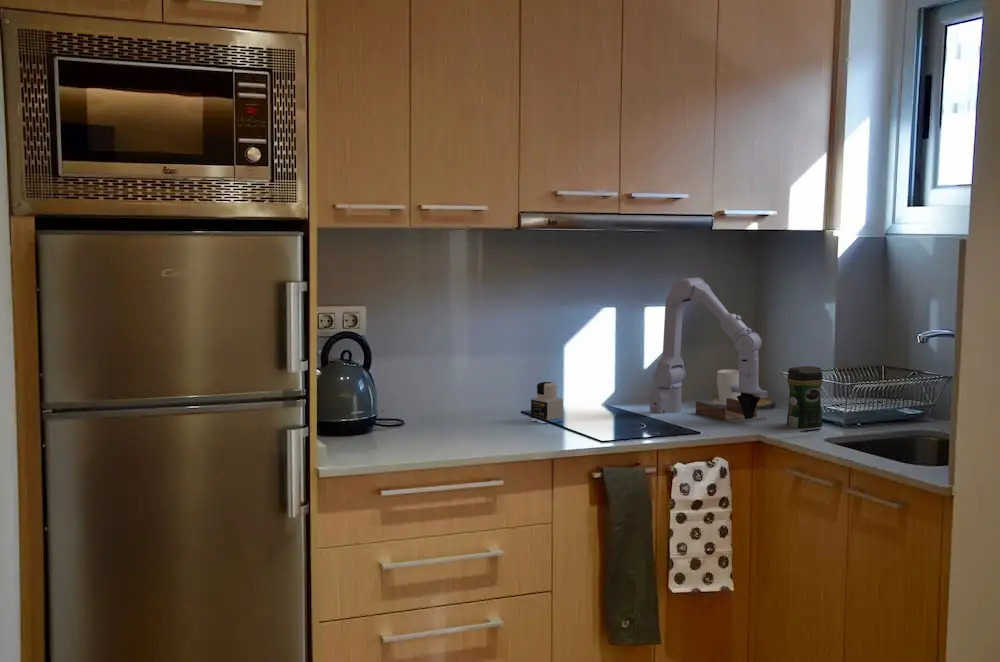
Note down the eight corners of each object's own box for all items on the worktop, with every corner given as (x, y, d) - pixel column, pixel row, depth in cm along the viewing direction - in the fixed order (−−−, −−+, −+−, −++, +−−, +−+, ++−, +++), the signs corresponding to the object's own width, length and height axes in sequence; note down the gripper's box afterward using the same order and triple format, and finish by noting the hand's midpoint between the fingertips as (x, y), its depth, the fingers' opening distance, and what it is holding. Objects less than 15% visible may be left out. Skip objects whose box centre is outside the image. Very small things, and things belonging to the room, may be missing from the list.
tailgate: (725, 423, 293) (736, 423, 288) (724, 420, 293) (736, 420, 288) (754, 420, 298) (766, 420, 293) (754, 417, 298) (766, 416, 293)
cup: (727, 404, 326) (728, 368, 324) (750, 408, 319) (751, 371, 318) (710, 407, 320) (711, 371, 319) (733, 411, 313) (734, 374, 312)
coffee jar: (809, 425, 290) (811, 363, 288) (826, 431, 283) (828, 367, 281) (781, 428, 287) (782, 365, 285) (797, 433, 280) (799, 369, 278)
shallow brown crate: (722, 424, 293) (722, 408, 292) (695, 417, 304) (695, 401, 304) (756, 420, 298) (756, 404, 298) (729, 413, 310) (729, 398, 309)
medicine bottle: (530, 421, 301) (530, 382, 300) (547, 418, 306) (546, 380, 304) (547, 424, 296) (546, 385, 294) (563, 421, 300) (563, 382, 299)
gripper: (775, 375, 286) (775, 421, 287) (743, 370, 299) (743, 414, 300) (756, 377, 283) (756, 423, 284) (724, 371, 296) (724, 416, 297)
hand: (748, 419), depth 292 cm, fingers closed, pressing on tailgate
